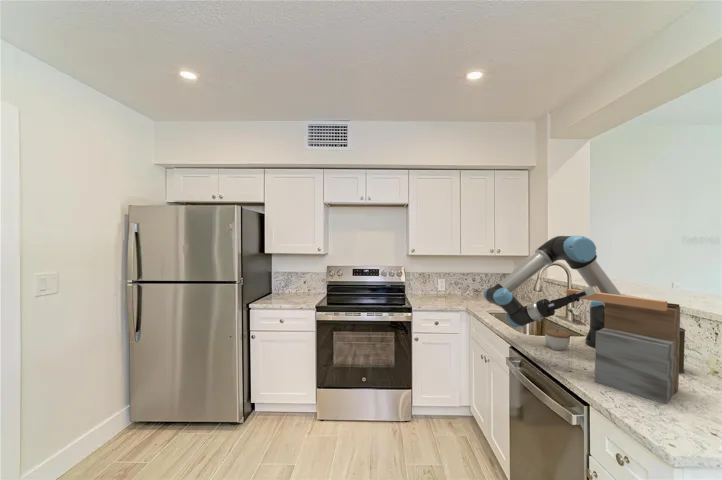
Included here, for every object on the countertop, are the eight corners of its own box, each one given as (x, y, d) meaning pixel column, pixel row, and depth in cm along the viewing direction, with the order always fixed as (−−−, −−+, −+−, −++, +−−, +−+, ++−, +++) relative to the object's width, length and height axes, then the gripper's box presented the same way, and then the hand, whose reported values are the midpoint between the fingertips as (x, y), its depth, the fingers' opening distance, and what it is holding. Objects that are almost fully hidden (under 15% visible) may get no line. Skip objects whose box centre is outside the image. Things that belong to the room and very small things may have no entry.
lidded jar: (575, 351, 155) (575, 331, 155) (556, 352, 153) (557, 333, 153) (557, 344, 166) (557, 325, 166) (539, 345, 164) (539, 326, 164)
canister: (647, 361, 143) (648, 316, 143) (679, 366, 138) (680, 320, 138) (654, 370, 134) (655, 322, 134) (689, 376, 129) (690, 326, 129)
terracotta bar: (569, 296, 134) (569, 288, 134) (667, 310, 110) (667, 301, 110) (566, 296, 133) (566, 289, 133) (664, 311, 109) (665, 302, 109)
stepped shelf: (611, 370, 133) (612, 295, 133) (678, 389, 117) (680, 303, 117) (594, 381, 122) (596, 299, 122) (666, 404, 106) (668, 309, 106)
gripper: (553, 315, 145) (609, 296, 129) (536, 320, 136) (594, 300, 119) (545, 299, 148) (598, 279, 132) (528, 303, 139) (583, 281, 122)
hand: (596, 289), depth 126 cm, fingers closed on terracotta bar, 3 cm apart
